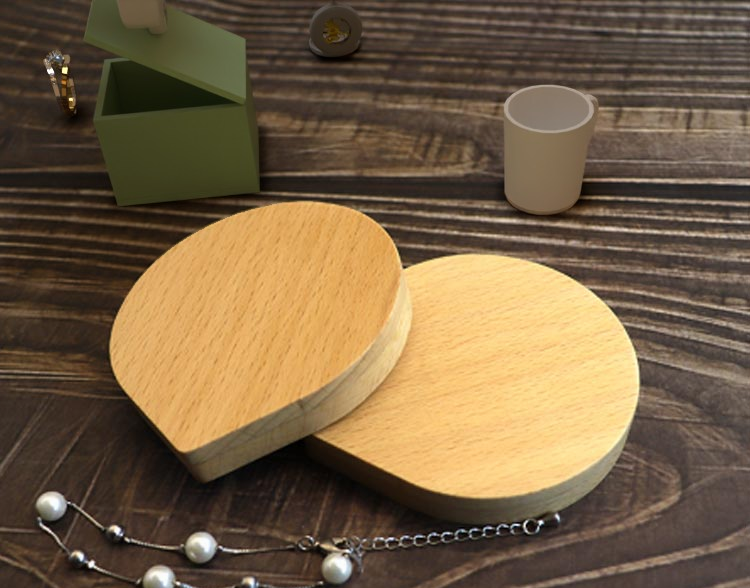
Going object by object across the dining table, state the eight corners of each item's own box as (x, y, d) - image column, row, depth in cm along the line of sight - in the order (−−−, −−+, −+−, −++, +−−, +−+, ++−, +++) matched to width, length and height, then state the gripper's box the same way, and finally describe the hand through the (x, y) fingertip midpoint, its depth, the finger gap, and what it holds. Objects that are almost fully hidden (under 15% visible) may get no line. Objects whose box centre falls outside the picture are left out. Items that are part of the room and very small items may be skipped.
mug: (535, 229, 105) (541, 143, 97) (483, 187, 110) (485, 103, 103) (616, 191, 108) (628, 106, 101) (562, 152, 114) (570, 69, 106)
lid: (82, 41, 97) (85, 34, 97) (95, -18, 106) (98, -25, 106) (243, 105, 104) (246, 98, 103) (243, 44, 112) (245, 38, 112)
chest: (117, 206, 111) (92, 120, 103) (126, 142, 120) (104, 59, 112) (259, 192, 112) (245, 106, 104) (258, 129, 120) (245, 45, 113)
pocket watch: (337, 29, 136) (331, -44, 129) (379, 50, 132) (375, -25, 124) (290, 52, 133) (281, -22, 125) (332, 75, 128) (325, -1, 121)
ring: (65, 99, 128) (46, 40, 122) (90, 97, 128) (73, 38, 122) (55, 130, 123) (35, 70, 117) (81, 128, 123) (63, 68, 117)
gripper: (156, -71, 86) (186, 76, 96) (168, -156, 101) (193, -20, 111) (82, -64, 86) (120, 82, 96) (104, -150, 100) (135, -15, 110)
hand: (159, 27), depth 104 cm, fingers closed
